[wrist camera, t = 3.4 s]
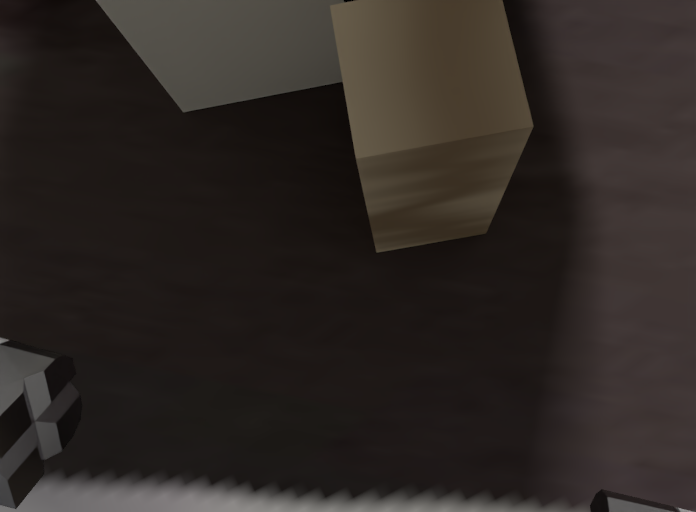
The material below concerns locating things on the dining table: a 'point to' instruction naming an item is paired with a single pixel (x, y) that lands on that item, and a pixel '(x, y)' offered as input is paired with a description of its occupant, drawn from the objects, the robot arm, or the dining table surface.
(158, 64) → the cabinet
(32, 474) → the robot arm
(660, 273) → the dining table surface
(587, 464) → the dining table surface
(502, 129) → the wooden handled saw
